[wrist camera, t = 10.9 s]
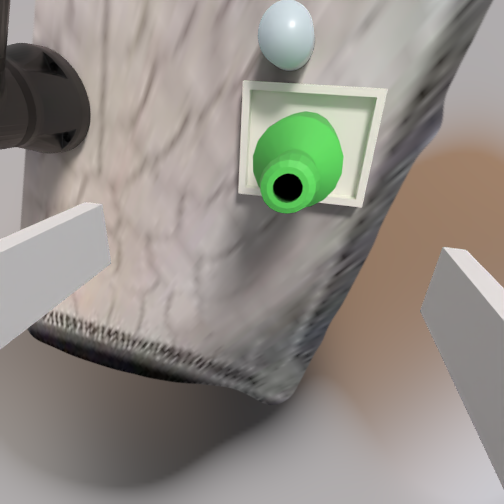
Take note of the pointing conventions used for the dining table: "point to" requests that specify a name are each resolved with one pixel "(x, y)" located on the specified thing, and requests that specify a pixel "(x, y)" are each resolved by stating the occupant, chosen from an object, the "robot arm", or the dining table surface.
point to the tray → (330, 107)
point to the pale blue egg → (287, 35)
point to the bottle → (297, 162)
